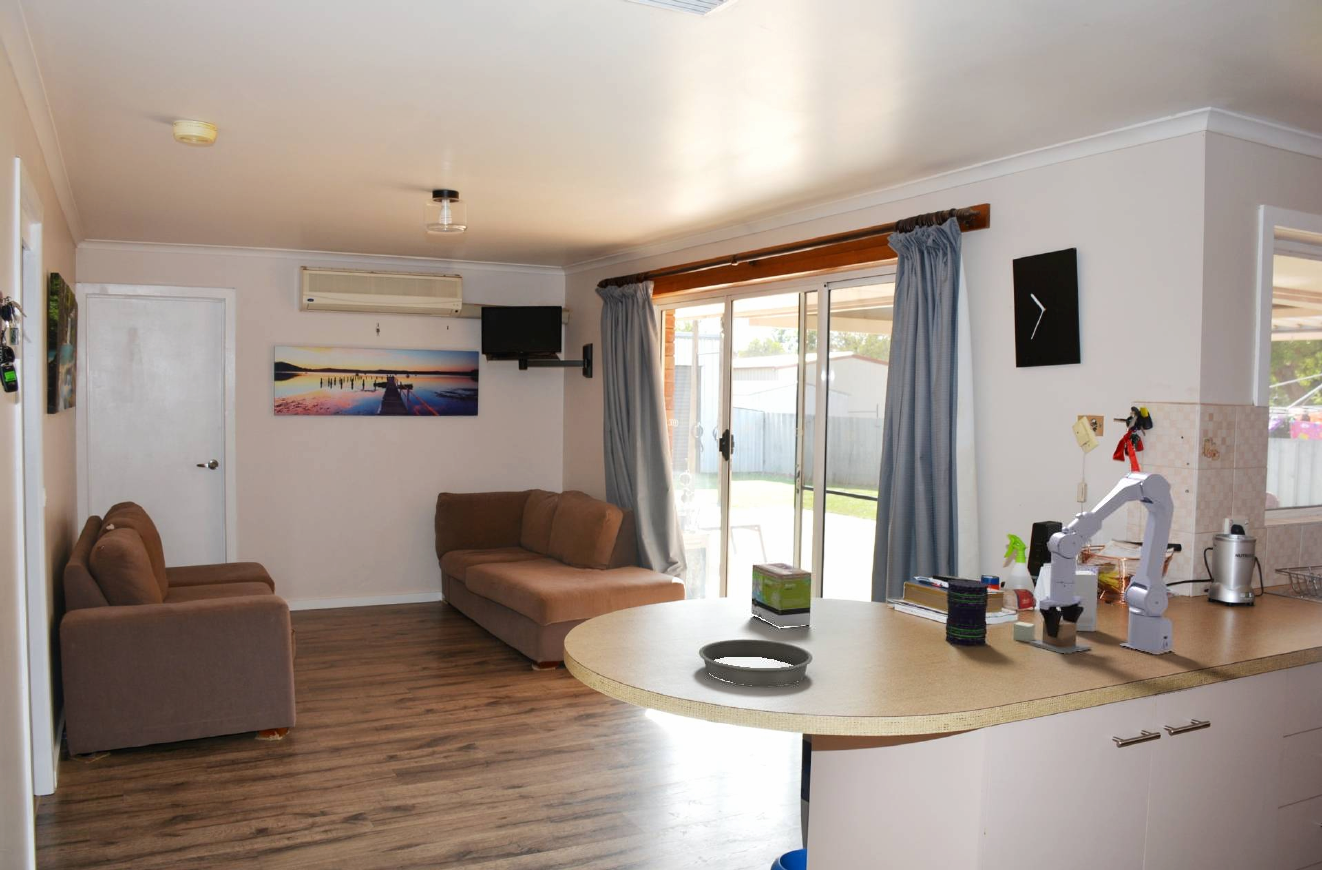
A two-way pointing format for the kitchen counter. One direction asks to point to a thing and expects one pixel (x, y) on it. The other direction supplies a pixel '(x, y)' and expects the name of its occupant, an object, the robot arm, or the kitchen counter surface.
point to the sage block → (1024, 631)
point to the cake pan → (756, 649)
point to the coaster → (1059, 649)
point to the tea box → (781, 594)
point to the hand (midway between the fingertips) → (1060, 635)
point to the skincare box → (1086, 599)
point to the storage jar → (966, 612)
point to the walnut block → (1061, 634)
